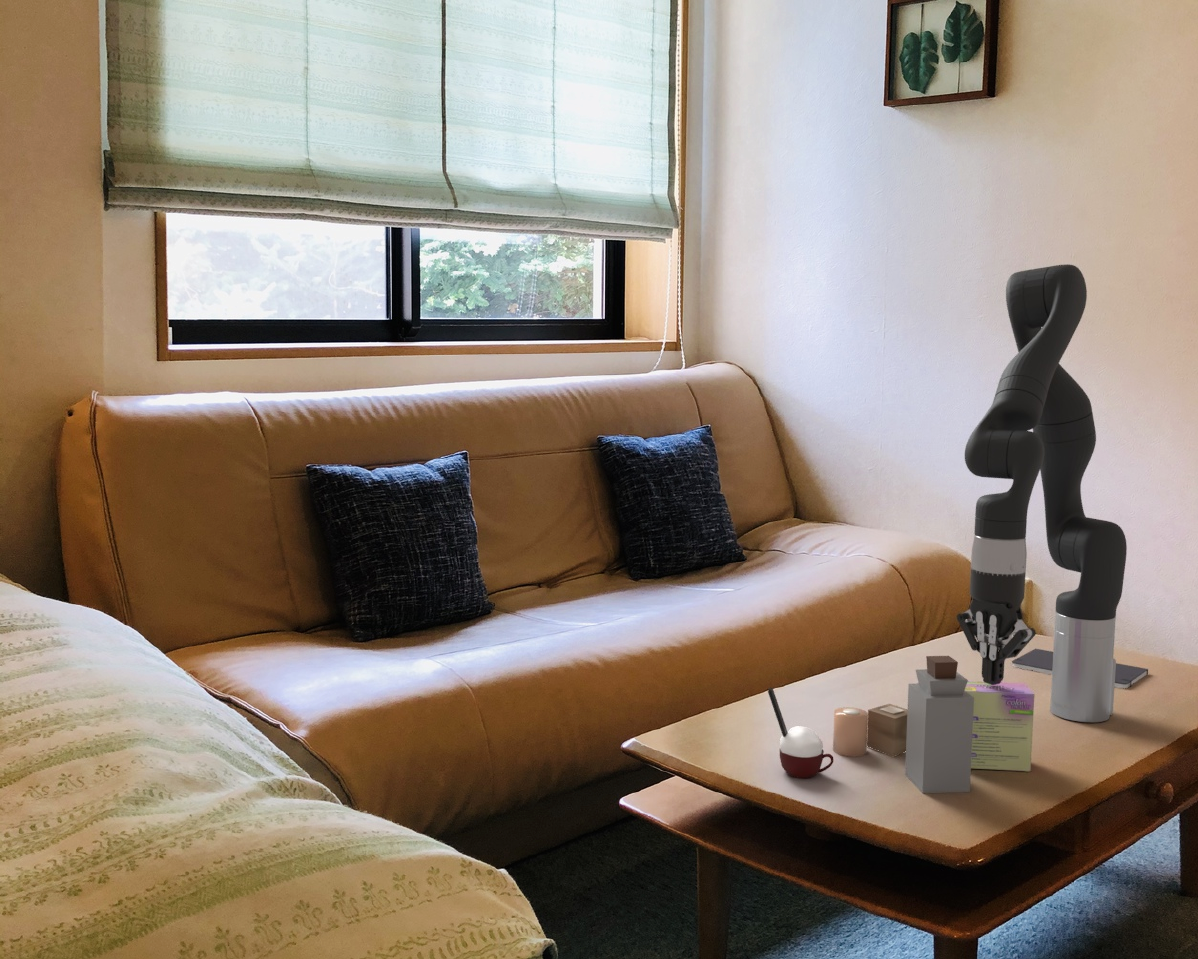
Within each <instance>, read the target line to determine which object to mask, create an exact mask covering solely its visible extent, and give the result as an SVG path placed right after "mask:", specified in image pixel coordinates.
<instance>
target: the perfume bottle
mask: <svg viewBox="0 0 1198 959" xmlns="http://www.w3.org/2000/svg"><path fill="white" fill-rule="evenodd" d="M958 664H959V662H958V661H957V660H956V659H954V658H953V657H952V656H949V655H926V669H915V673H916V677H917V678H916V679H917V681H918V683H908V690H907V710H908V712H907V738H906V753H905V763H904V764H905V766H904V768H905V770H904V775H905V776H906V777H907V778H908V780H910V781H911V783H912V784H913V785H914V786H915V787H916V788H917V789H918V790H919V791H920V792H921V793H922V794H937V793H938V794H940V793H941V794H942V793H966V792H967V793H970V791H971V774H972V773H971V770H972V768H971V754H972V732H973V710H974V697H973V696H972V695H970V694H969V693H968V692H966V691H965V687H966V684H967V682H968V681H969V679H967V678H966V677H965V676H963V675H961V673H959V672H957V670H958V666H959V665H958Z"/></svg>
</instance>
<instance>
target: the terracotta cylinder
mask: <svg viewBox="0 0 1198 959" xmlns="http://www.w3.org/2000/svg"><path fill="white" fill-rule="evenodd" d="M833 712H834V713H833V733H832V734H833V735H832V736H833V737H832V739H833V740H832V751H833V752H834V753H835V754H836V755H837V754H838V755H840V756H845V757H850V758H851V757H856V756H857V757H863V756H865V755H866V754H867V748H868V747H867V731H868V711H866V710H865V709H861V708H857V707H850V706H849V707H845V706H843V707H838V708H835V709H834V711H833ZM864 754H865V755H864ZM862 755H863V756H862Z"/></svg>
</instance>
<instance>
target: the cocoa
mask: <svg viewBox="0 0 1198 959" xmlns="http://www.w3.org/2000/svg"><path fill="white" fill-rule="evenodd" d="M767 690H768V691H767V693H768V697H769V699H770V702H771V706H772V707H773V710H774V711H773V712H774V714H775V717H776V720H777V723H778V726H779V728H780V729H779V730H780V731H781V734H782V735H781V737H780V739H779V759H780V760H779V761H780V763H781V767H782V769H783V770H784V771H785V774H787V775H789V776H791V777H793V778H797V779H809V778H812V777H814V776H816V775H817V774H821V773H823V772H825V771H826V770H828V769H830V768H831V767H832V765H833V763H834V757H833V755H832V754H831V753H824V750H823V748H824V744H823V741H822V739H821V738H820V736H819V735H818V733H817V732H816V731H815V730H814V729H811V728H809V727H807V726H800V725H799V726H798V725H797V726H796V725H795V726H793V727H791V728H790V729H789V730H788V729H787V727H786V726H787V725H786V724H785V721H784V717H783V715H782V712H781V711H782V710H781V708H780V706H779V702H778V699H777V698H776V694H775V691H774V688H773V687H771V686H770V687H769V688H768V689H767ZM825 758H829V759H830V762H829V763H827V765H825V766H824V767H822V768H821V766H822V764H823V761H824V760H823V759H825Z"/></svg>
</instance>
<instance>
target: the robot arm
mask: <svg viewBox="0 0 1198 959" xmlns="http://www.w3.org/2000/svg"><path fill="white" fill-rule="evenodd" d="M1085 280H1086V279H1085V277H1084V274H1083V273H1082V271H1081V270H1080V269H1079V267H1077V266H1076V265H1074V264H1057V265H1050V266H1046V267H1038V268H1033V269H1032V268H1031V269H1025V270H1020V271H1017V272H1014V273H1012V274H1011V275H1010V276H1009V277H1008V279H1007V281H1006V286H1005V302H1006V308H1007V314H1008V317H1009V322H1010V325H1011V330H1012V333H1013V338H1014V340H1015V345H1016V348H1017V351H1018V353H1017V354H1015V355H1014V357H1013V358H1012V359H1011V360H1010V361H1009V363H1008V364H1007V365H1006V367H1005V368H1004V369H1003V371H1002V373H1001V375H1000V378H999V381H998V383H997V384H998V385H997V388H996V391H995V394H994V398H993V401H992V403H991V405H990V407H989V409H988V410H987V411H986V413H985V415H984V416H983V418H982V419H981V420H980V421H979V423H978V424H977V425H976V426H975V428H974V429H973V431H972V432H971V434H970V436H969V437H968V440H967V442H966V445H965V449H964V462H965V465H966V467H967V469H968V470H969V472H970V473H971V474H973V475H974V476H975V477H981V478H991V479H1003V480H1012V485H1011V486H1010V488H1009V489H1008V490H1007V491H1005V492H999V493H989V494H984V495H981V496H979V498H978V499H977V501H976V504H975V514H974V515H975V516H974V533H973V534H974V536H973V543H972V547H971V557H970V559H971V560H970V561H971V562H970V575H969V576H970V578H969V596H970V598H972V599H971V601H970V604H969V609H967V610H966V611H965V612H961V613H958V614H957V615H956V619H957V621H958V624H959V626H960V627H961V630H962V632H963V634H964V636H965V639H966V640H967V642H968V645H969V646H970V648H971V650H972V651H977V652H978V653H979V654H980V657H981V677H982V682H985V683H988V684H991V685H996V684H1000V683H1001V682H1002V681H1003V680H1004V678H1005V675H1004V674H1005V660H1007V659H1012V658H1017V656H1018V655H1020V653H1021V651H1023V649H1025V647H1026V646H1027V645H1028V644H1029V643H1030V641H1031V640H1033V639H1034V637H1035V636H1036V633H1037V632H1036V629H1034V628H1033V627H1030V628H1029V626H1027V625H1026V623H1025V622H1024V620H1023V619H1024V614H1023V612H1022V608H1021V606H1022V602H1023V601H1024V600H1025V593H1026V592H1025V590H1026V572H1027V570H1026V569H1027V558H1028V557H1027V553H1028V552H1027V545H1026V544H1027V543H1026V540H1027V539H1026V537H1027V521H1028V520H1027V519H1028V509H1029V504H1030V501H1031V497H1032V496H1031V495H1032V493H1033V489H1034V486H1035V484H1036V482H1037V478H1038V476H1039V473H1040V477H1041V483H1042V484H1041V485H1042V490H1043V500H1044V502H1043V504H1044V514H1045V515H1044V516H1045V531H1046V533H1045V534H1046V543H1047V548H1048V552H1049V556H1050V557H1051V559H1052V562H1054V564H1056V565H1057V566H1058V567H1059V568H1062V569H1064V570H1067V571H1073V572H1076V573H1080V577H1079V583H1078V587H1077V588H1076V589H1075V590H1069V591H1064V592H1061V593H1059V594H1058V595H1057V596H1056V600H1055V612H1054V630H1053V649H1052V650H1053V651H1052V652H1053V667H1052V675H1051V687H1050V689H1051V691H1050V707H1049V708H1050V709H1049V711H1050V712H1051V714H1053V715H1055V716H1057V717H1059V718H1062V719H1065V720H1069V721H1074V722H1075V721H1076V722H1080V723H1081V722H1083V723H1101V722H1105V721H1108V720H1109V719H1110V716H1111V715H1113V713H1114V702H1115V701H1114V700H1115V699H1114V698H1115V688H1116V687H1115V670H1116V663H1117V660H1116V659H1115V658H1114V654H1115V653H1114V652H1115V639H1116V638H1115V637H1116V636H1115V633H1116V617H1117V608H1118V606H1119V604H1120V601H1121V597H1122V595H1123V594H1122V593H1123V589H1124V588H1123V586H1124V579H1125V578H1124V577H1125V569H1126V561H1127V552H1128V551H1127V549H1128V547H1127V539H1126V534H1125V532H1124V530H1123V529H1122V527H1121V526H1120V525H1118V524H1117V523H1116V522H1112V521H1109V520H1103V519H1099V518H1093V517H1087V516H1086V514H1085V512H1084V507H1083V502H1082V491H1081V490H1082V489H1081V488H1082V487H1081V486H1082V485H1081V484H1082V481H1083V477H1084V474H1085V472H1086V469H1087V468H1088V465H1089V463H1090V461H1091V460H1092V456H1093V455H1094V452H1095V447H1096V442H1097V432H1096V427H1095V419H1094V413H1093V408H1092V403H1091V400H1090V398H1089V396H1088V395H1087V393H1086V392H1085V391H1084V389H1083V388H1082V386H1081V385H1080V384H1079V383H1078V382H1077V380H1075V378H1074V377H1072V376H1071V375H1070V373H1069V372H1068V371H1067V370H1066V369H1065V368H1064V367H1063V366H1062V364H1060V362H1061V359H1062V357H1063V356H1064V354H1065V352H1066V350H1067V348H1068V347H1069V344H1070V342H1071V340H1072V338H1073V336H1074V334H1075V333H1076V331H1077V328H1078V326H1079V324H1080V322H1081V320H1082V318H1083V315H1084V312H1085V309H1086V306H1087V305H1086V304H1087V300H1088V299H1087V298H1088V297H1087V296H1088V295H1087V294H1088V293H1087V292H1088V291H1087V285H1086V281H1085ZM1030 430H1032V431H1030Z"/></svg>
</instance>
